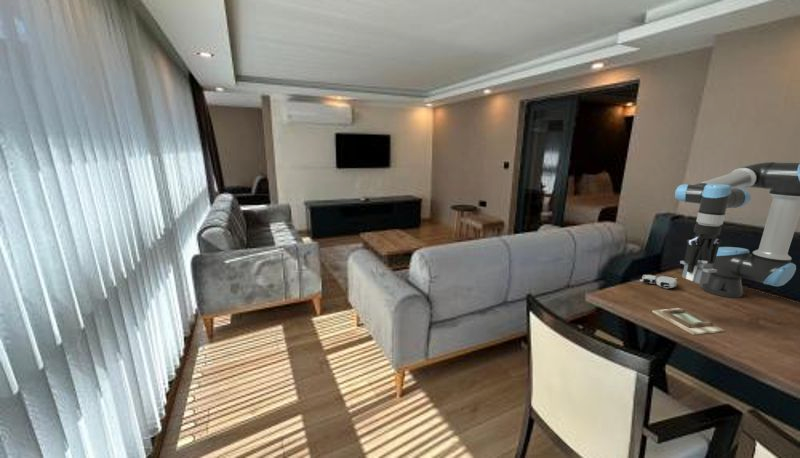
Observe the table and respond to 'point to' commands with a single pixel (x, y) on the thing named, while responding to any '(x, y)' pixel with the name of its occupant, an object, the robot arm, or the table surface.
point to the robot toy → (660, 281)
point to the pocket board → (688, 321)
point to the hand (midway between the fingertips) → (694, 279)
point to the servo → (700, 271)
